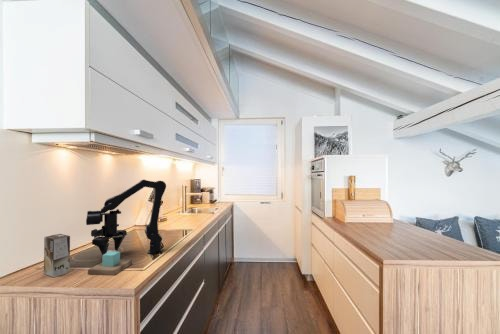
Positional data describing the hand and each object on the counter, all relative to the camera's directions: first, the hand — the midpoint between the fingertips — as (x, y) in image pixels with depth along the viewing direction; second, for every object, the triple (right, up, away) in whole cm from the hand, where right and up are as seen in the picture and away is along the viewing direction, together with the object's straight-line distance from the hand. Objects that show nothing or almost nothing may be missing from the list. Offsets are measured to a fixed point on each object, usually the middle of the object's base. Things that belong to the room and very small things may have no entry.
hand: (110, 253), depth 121 cm
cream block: (0, -3, 0) cm, 3 cm away
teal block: (+8, 0, -13) cm, 15 cm away
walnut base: (+8, -2, -13) cm, 15 cm away
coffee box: (-14, -2, -17) cm, 22 cm away
